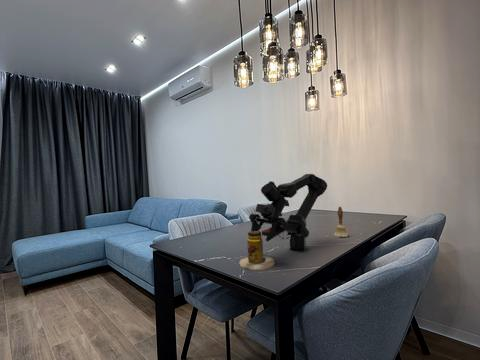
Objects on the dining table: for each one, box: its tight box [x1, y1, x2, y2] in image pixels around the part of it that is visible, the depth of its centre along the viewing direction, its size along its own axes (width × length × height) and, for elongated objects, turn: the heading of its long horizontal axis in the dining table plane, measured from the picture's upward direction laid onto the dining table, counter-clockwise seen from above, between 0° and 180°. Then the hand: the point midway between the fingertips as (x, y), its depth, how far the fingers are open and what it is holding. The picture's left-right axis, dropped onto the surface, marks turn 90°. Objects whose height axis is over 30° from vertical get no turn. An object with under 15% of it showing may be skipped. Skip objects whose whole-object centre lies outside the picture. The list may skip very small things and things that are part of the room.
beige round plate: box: [238, 255, 275, 271], centre depth 107 cm, size 14×14×1 cm
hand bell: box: [333, 206, 349, 236], centre depth 144 cm, size 8×8×16 cm
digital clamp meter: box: [261, 226, 291, 240], centre depth 154 cm, size 23×4×25 cm
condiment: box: [246, 230, 266, 264], centre depth 108 cm, size 7×8×12 cm
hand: (258, 238), depth 108 cm, fingers open, 9 cm apart
